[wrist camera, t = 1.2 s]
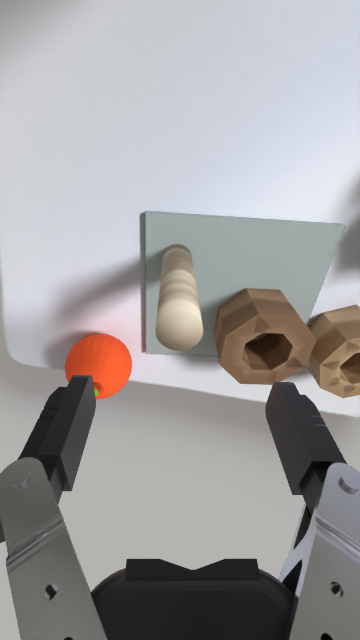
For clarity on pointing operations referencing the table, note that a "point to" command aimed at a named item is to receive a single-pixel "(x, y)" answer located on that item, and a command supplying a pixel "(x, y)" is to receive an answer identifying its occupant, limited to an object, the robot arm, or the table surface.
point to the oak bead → (337, 351)
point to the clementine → (100, 363)
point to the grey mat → (238, 264)
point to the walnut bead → (271, 350)
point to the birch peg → (178, 301)
